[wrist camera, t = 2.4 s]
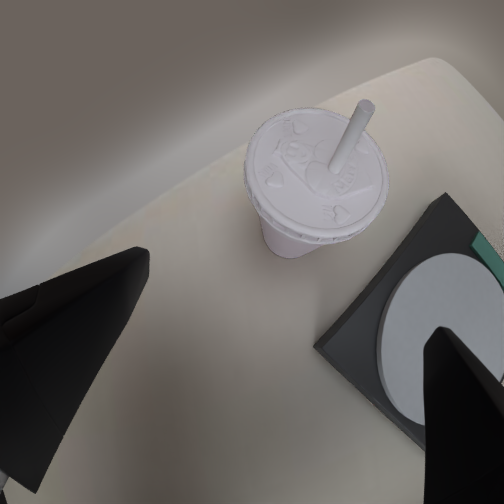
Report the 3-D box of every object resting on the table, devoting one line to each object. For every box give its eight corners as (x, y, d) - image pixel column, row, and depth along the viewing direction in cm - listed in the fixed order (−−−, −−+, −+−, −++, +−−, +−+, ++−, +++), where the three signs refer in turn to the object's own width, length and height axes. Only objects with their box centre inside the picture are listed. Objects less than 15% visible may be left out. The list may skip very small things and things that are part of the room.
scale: (429, 455, 18) (450, 467, 15) (312, 346, 20) (324, 349, 17) (519, 314, 21) (542, 310, 18) (431, 203, 23) (451, 187, 20)
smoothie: (316, 292, 21) (427, 231, 8) (228, 256, 22) (205, 138, 8) (345, 210, 23) (443, 83, 9) (264, 177, 23) (285, 17, 10)
